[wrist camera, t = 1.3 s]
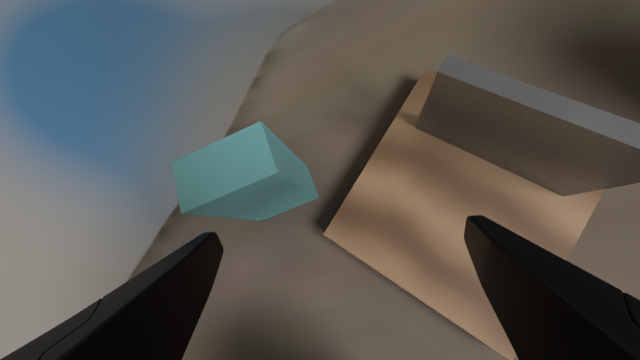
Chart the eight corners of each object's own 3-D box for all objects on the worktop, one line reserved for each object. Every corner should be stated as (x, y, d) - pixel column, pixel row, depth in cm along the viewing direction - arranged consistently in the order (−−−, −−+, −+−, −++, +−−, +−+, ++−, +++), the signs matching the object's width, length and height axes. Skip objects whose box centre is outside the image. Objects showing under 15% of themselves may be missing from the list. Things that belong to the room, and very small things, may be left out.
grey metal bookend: (563, 196, 18) (698, 171, 11) (414, 127, 22) (437, 71, 14) (592, 143, 19) (744, 82, 11) (441, 83, 22) (478, 5, 14)
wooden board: (498, 348, 19) (512, 361, 17) (327, 234, 23) (323, 234, 22) (603, 154, 20) (627, 146, 18) (421, 81, 25) (425, 68, 23)
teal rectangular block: (318, 197, 24) (277, 172, 14) (260, 221, 25) (180, 213, 15) (307, 166, 25) (260, 120, 15) (251, 190, 26) (170, 162, 16)
